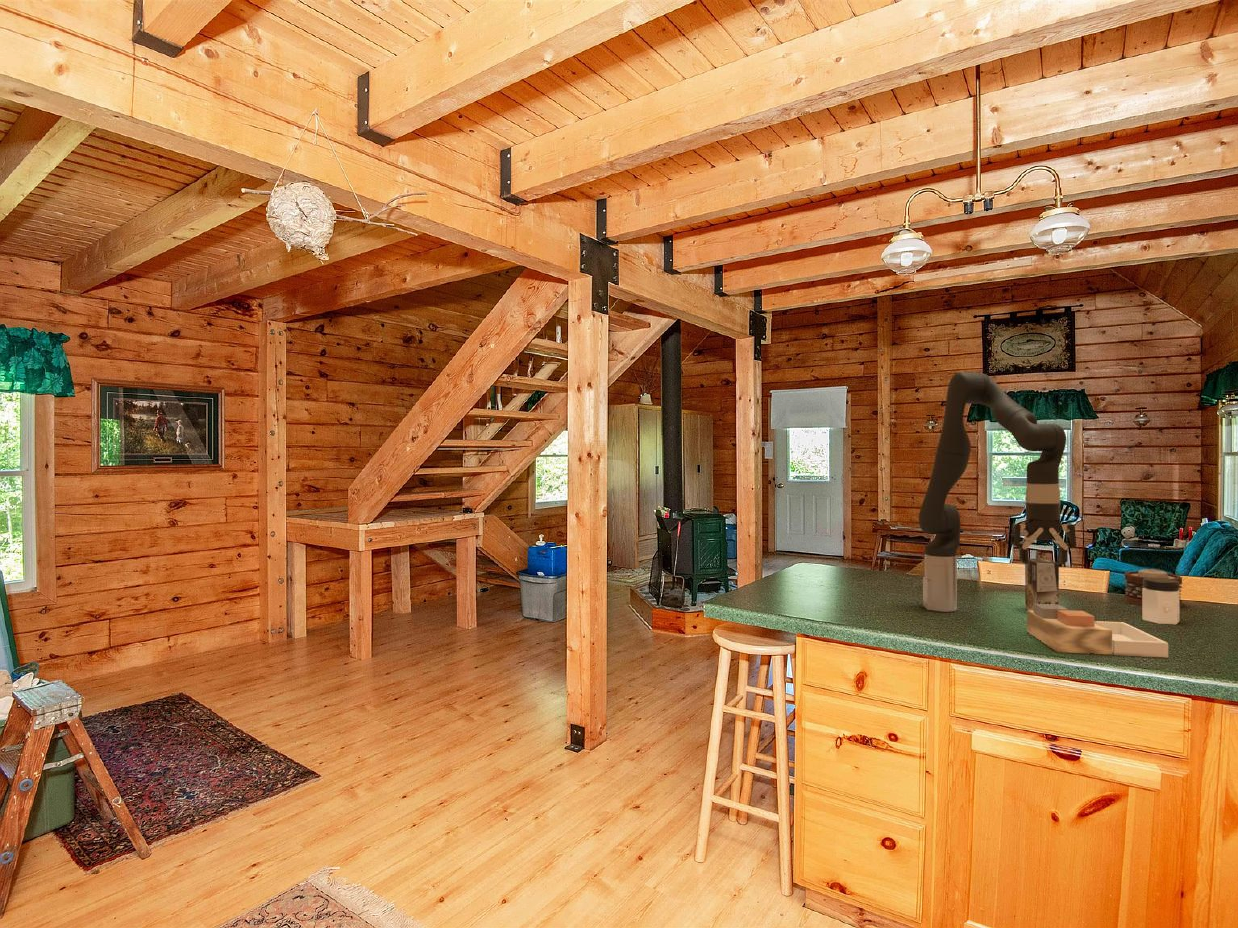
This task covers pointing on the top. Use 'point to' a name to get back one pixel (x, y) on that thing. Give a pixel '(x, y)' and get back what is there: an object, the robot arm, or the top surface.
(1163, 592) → the jar
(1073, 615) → the terracotta tile
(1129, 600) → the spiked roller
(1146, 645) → the box
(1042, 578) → the coffee box
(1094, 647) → the board
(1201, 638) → the top surface
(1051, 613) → the slate tile
